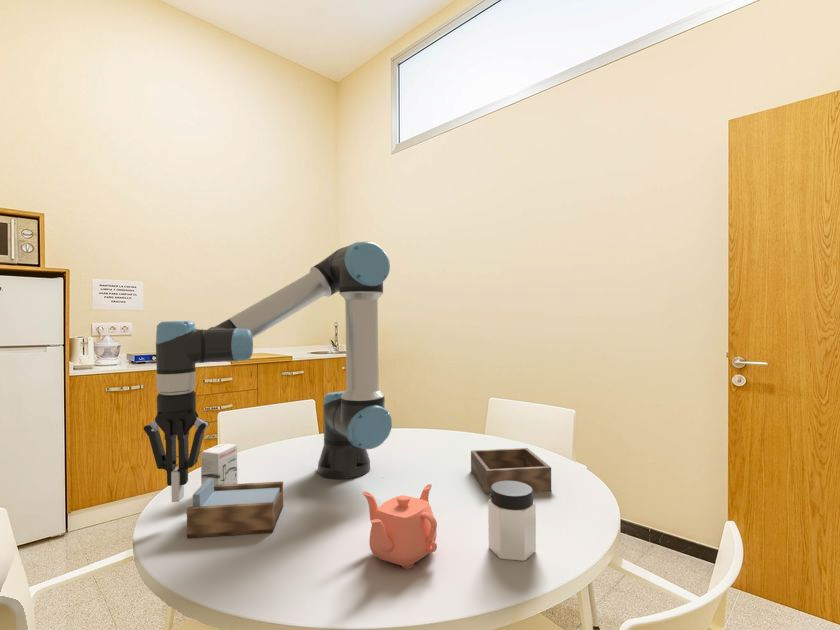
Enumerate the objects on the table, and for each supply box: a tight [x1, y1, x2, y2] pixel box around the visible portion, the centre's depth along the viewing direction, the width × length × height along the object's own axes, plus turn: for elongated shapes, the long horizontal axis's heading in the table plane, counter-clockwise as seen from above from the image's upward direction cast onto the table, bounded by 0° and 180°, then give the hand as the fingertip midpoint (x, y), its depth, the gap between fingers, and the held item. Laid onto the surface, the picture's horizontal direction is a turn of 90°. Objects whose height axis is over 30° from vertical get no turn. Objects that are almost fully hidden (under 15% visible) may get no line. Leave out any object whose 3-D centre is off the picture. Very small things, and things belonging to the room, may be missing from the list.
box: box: [186, 481, 284, 539], centre depth 101 cm, size 17×13×6 cm
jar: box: [487, 481, 537, 562], centre depth 88 cm, size 9×8×12 cm
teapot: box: [361, 484, 438, 569], centre depth 86 cm, size 14×14×11 cm
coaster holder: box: [470, 447, 552, 495], centre depth 124 cm, size 17×17×6 cm
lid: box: [192, 479, 280, 507], centre depth 101 cm, size 16×10×4 cm, turn 97°
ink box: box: [200, 443, 238, 486], centre depth 116 cm, size 9×5×12 cm, turn 168°
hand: (177, 499), depth 99 cm, fingers closed
